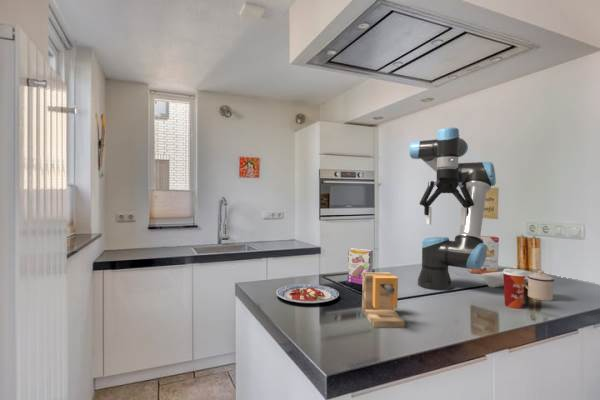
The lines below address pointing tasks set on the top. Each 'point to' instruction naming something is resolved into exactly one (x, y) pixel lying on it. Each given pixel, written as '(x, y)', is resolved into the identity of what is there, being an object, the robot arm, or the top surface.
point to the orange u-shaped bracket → (376, 289)
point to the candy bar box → (359, 264)
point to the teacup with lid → (540, 286)
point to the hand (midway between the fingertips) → (446, 224)
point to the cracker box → (489, 255)
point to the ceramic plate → (307, 293)
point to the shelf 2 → (498, 278)
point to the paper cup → (513, 287)
